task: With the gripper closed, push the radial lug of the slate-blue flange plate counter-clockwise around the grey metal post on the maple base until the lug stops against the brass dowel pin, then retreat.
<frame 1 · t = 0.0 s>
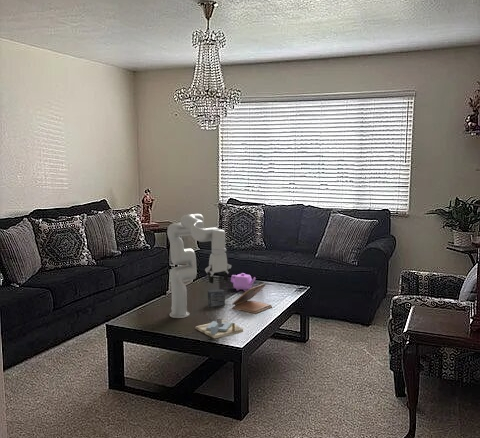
hand: (218, 281, 288), 31 cm above the table, fingers open, 9 cm apart
teapot: (243, 289, 391), on the table
case: (252, 308, 345), on the table
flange: (217, 325, 297), point 4 cm above the table, hinge at 0.0°
post fixture: (219, 330, 300), on the table
small box: (216, 306, 349), on the table
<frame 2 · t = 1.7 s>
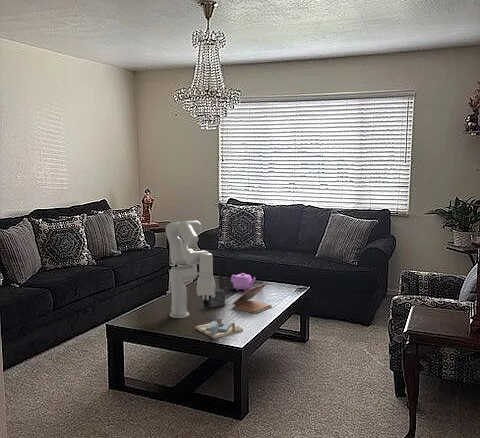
hand: (206, 306, 291), 16 cm above the table, fingers closed
nothing on the table moved.
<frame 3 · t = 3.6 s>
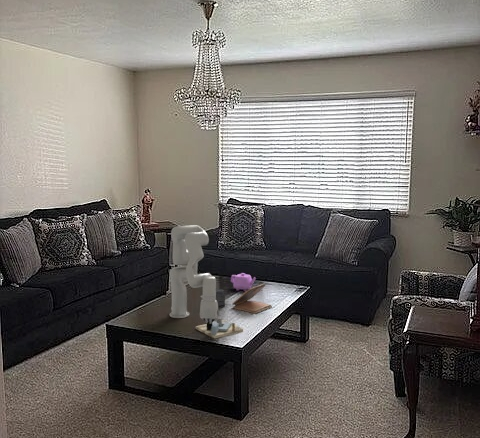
hand: (209, 329, 292), 3 cm above the table, fingers closed
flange: (217, 325, 297), point 4 cm above the table, hinge at 1.9°, touching gripper
everything else where it was.
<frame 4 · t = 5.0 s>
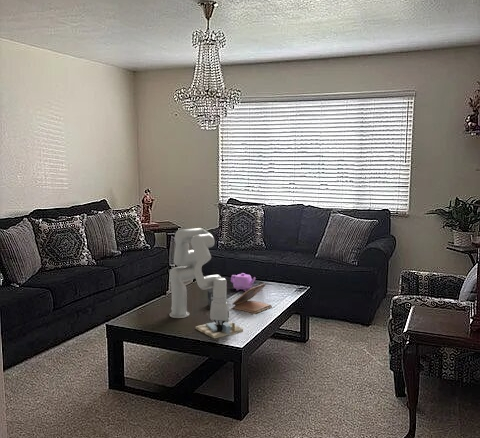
hand: (219, 331, 291), 3 cm above the table, fingers closed
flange: (221, 325, 297), point 4 cm above the table, hinge at 39.1°, touching gripper
everything else where it was.
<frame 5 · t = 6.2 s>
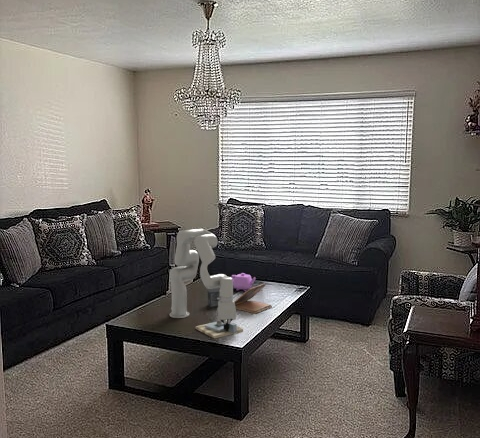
hand: (226, 330, 291), 3 cm above the table, fingers closed
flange: (223, 324, 298), point 4 cm above the table, hinge at 60.0°, touching gripper, post fixture
everything else where it was.
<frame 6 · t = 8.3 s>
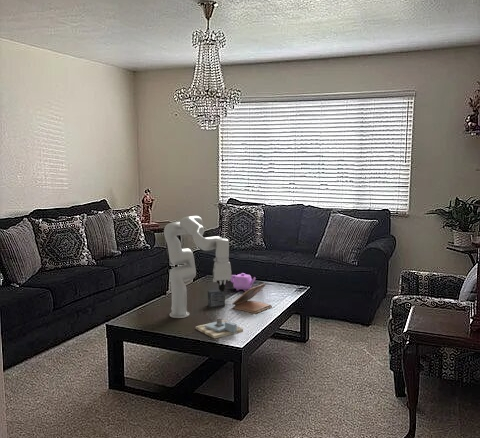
hand: (221, 290, 297), 24 cm above the table, fingers closed
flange: (223, 324, 298), point 4 cm above the table, hinge at 60.0°
everything else where it was.
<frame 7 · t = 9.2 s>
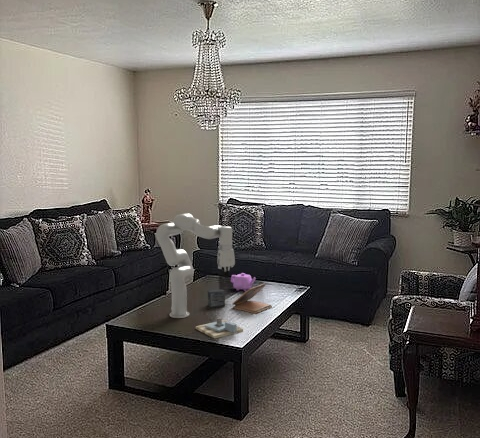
hand: (225, 277, 307), 29 cm above the table, fingers closed
nothing on the table moved.
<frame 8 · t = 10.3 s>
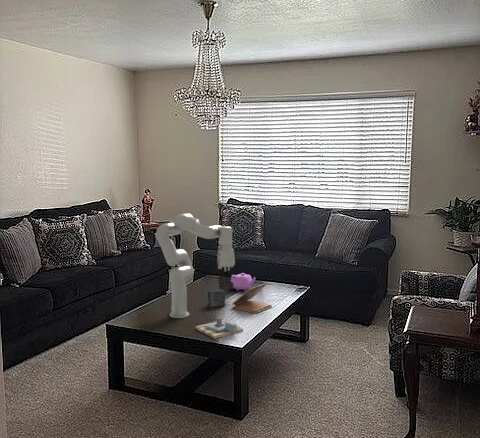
hand: (225, 277, 307), 29 cm above the table, fingers closed
nothing on the table moved.
at the end: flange at +60° (first picture: +0°) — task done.
